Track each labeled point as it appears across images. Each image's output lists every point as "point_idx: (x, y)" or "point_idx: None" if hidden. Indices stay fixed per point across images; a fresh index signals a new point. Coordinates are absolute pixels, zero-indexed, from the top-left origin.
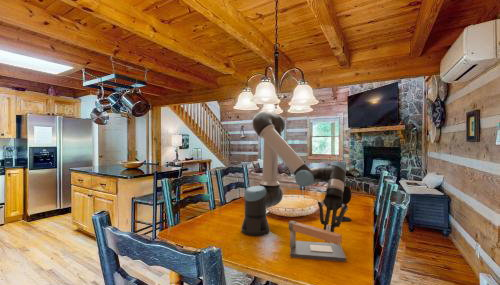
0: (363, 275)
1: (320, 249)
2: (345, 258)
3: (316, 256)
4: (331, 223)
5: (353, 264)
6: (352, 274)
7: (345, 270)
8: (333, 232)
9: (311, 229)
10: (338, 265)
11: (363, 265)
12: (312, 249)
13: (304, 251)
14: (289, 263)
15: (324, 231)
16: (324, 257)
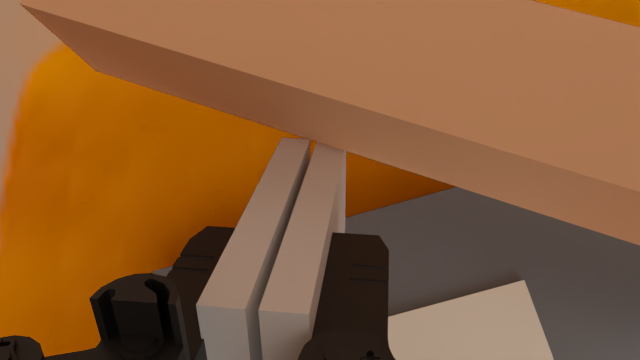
0: (54, 105)
1: (427, 357)
2: (161, 270)
3: (433, 194)
4: (171, 356)
5: (110, 252)
6: (129, 83)
7: (176, 119)
8: (154, 33)
9: (605, 27)
10: (231, 176)
11: (31, 271)
12: (513, 314)
13: (583, 237)
14: (629, 24)
15: (322, 7)
16: (357, 215)
